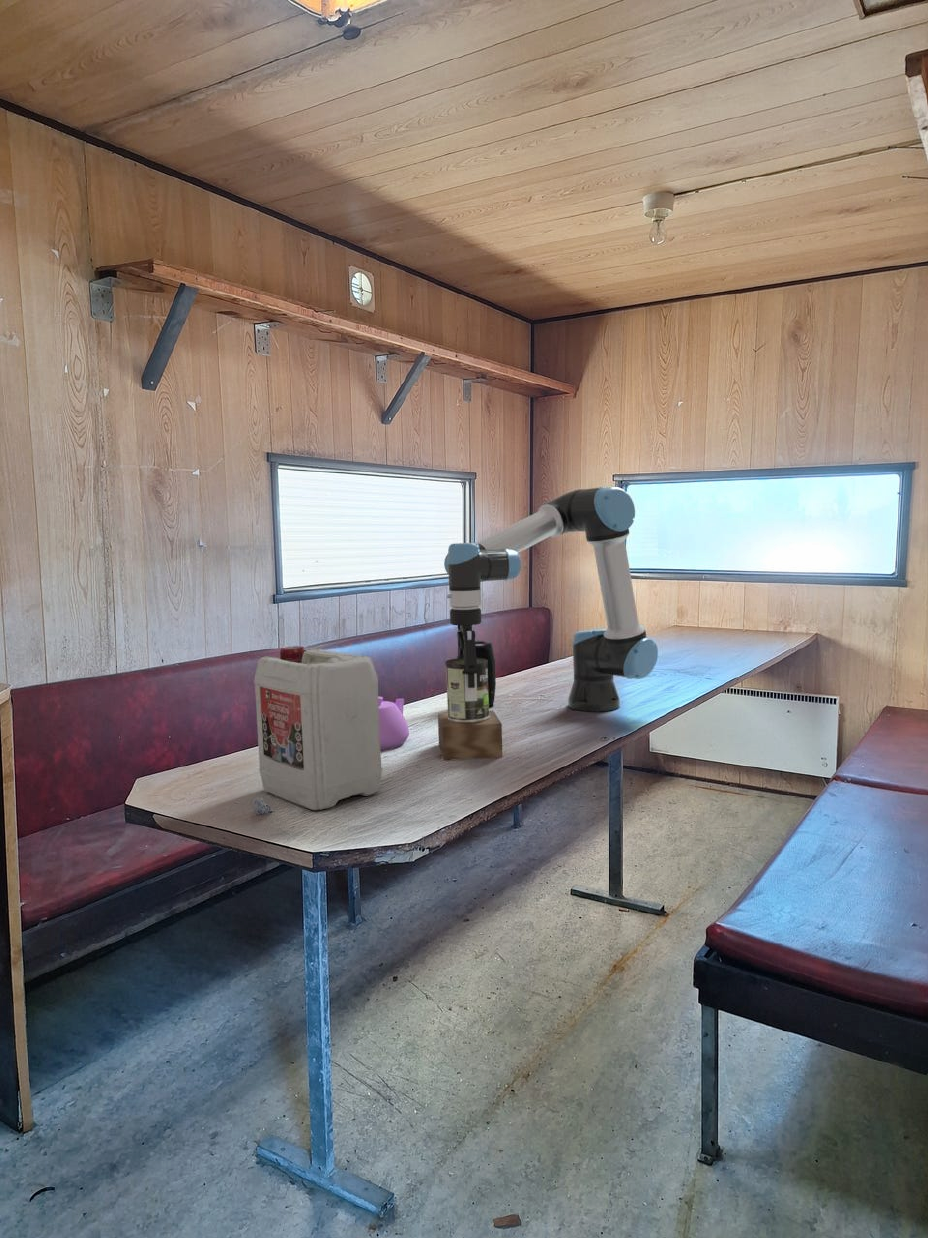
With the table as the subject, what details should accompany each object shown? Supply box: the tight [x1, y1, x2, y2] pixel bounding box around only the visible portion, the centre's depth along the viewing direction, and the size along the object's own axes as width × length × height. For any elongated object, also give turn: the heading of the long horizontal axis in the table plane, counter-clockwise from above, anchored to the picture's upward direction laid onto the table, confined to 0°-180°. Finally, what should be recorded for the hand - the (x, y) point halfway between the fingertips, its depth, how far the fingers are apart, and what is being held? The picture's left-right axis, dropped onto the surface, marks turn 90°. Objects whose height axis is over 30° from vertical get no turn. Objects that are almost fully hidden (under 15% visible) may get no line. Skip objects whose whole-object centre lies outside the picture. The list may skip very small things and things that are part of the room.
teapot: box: [378, 695, 410, 751], centre depth 205 cm, size 22×16×12 cm
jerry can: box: [253, 645, 383, 811], centre depth 166 cm, size 24×19×30 cm
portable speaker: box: [475, 640, 497, 707], centre depth 243 cm, size 9×9×20 cm
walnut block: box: [437, 710, 504, 761], centre depth 195 cm, size 14×14×8 cm
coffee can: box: [444, 658, 490, 723], centre depth 194 cm, size 10×10×14 cm
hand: (468, 695), depth 194 cm, fingers open, 13 cm apart
